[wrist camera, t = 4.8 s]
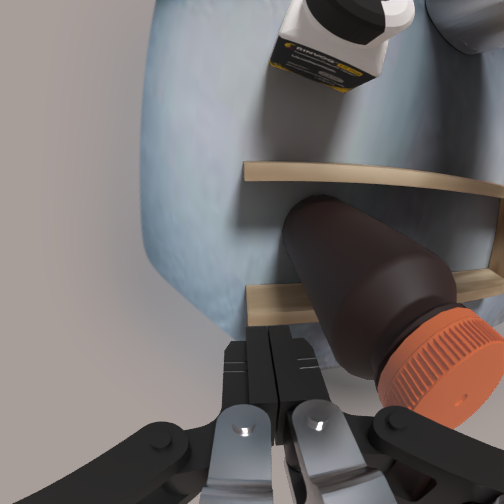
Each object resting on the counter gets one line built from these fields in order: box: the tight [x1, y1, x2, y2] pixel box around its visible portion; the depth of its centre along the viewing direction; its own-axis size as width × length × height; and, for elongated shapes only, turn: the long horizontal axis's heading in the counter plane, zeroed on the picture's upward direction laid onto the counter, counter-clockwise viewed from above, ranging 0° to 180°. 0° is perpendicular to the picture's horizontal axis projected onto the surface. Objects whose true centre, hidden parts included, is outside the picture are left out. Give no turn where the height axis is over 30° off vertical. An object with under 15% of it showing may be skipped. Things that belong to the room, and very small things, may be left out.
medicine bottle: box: [269, 0, 415, 93], centre depth 14 cm, size 7×7×12 cm
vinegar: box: [282, 195, 504, 429], centre depth 16 cm, size 7×7×20 cm
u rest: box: [243, 161, 504, 326], centre depth 23 cm, size 12×33×5 cm, turn 91°
